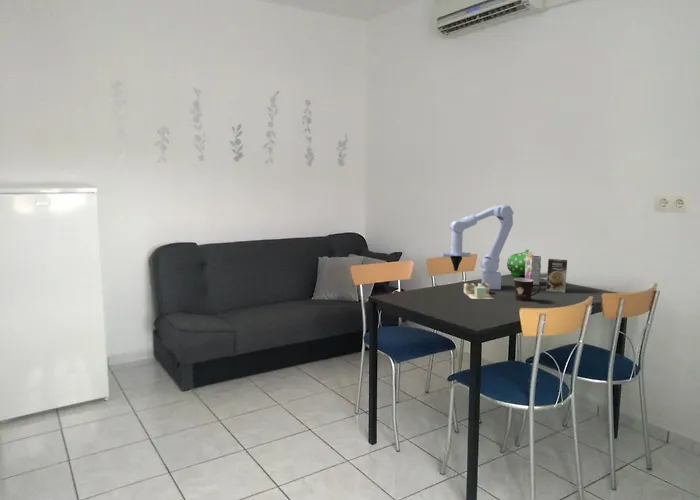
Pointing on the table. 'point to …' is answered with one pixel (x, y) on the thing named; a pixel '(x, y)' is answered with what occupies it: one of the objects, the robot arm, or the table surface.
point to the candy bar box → (533, 267)
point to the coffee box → (556, 275)
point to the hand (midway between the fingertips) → (455, 270)
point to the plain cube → (480, 291)
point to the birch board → (480, 297)
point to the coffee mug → (524, 289)
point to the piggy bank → (517, 263)
